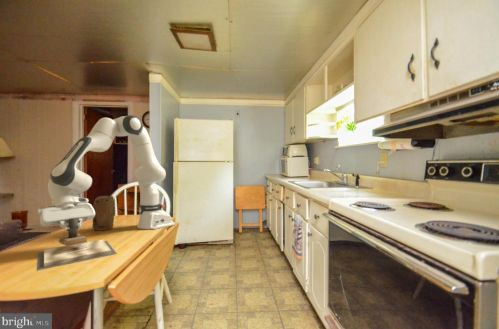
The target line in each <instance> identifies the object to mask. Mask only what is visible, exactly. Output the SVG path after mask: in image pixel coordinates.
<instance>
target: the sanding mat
mask: <svg viewBox="0 0 499 329" xmlns="http://www.w3.org/2000/svg"><path fill="white" fill-rule="evenodd" d="M104 242H105V243H106V244H107V246H108V247H109V248H110V250H111V254H106V255H101V256H97V257H92V258H87V259H82V260H77V261H72V262H67V263H62V264H57V265H52V266H48V267H44V251H39V252H38V253H37V263H36V264H37V266H36V271H42V270H46V269H50V268H52V269H53V268H56V267H61V266H65V265H70V264H75V263H80V262H85V261H90V260H95V259H101V258H104V257H109V256H113V255H118V253H117V252H116V250H115V249H114V248H113V247H112V245H110V243H109V242H108V241H107V240H104Z"/></svg>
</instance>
